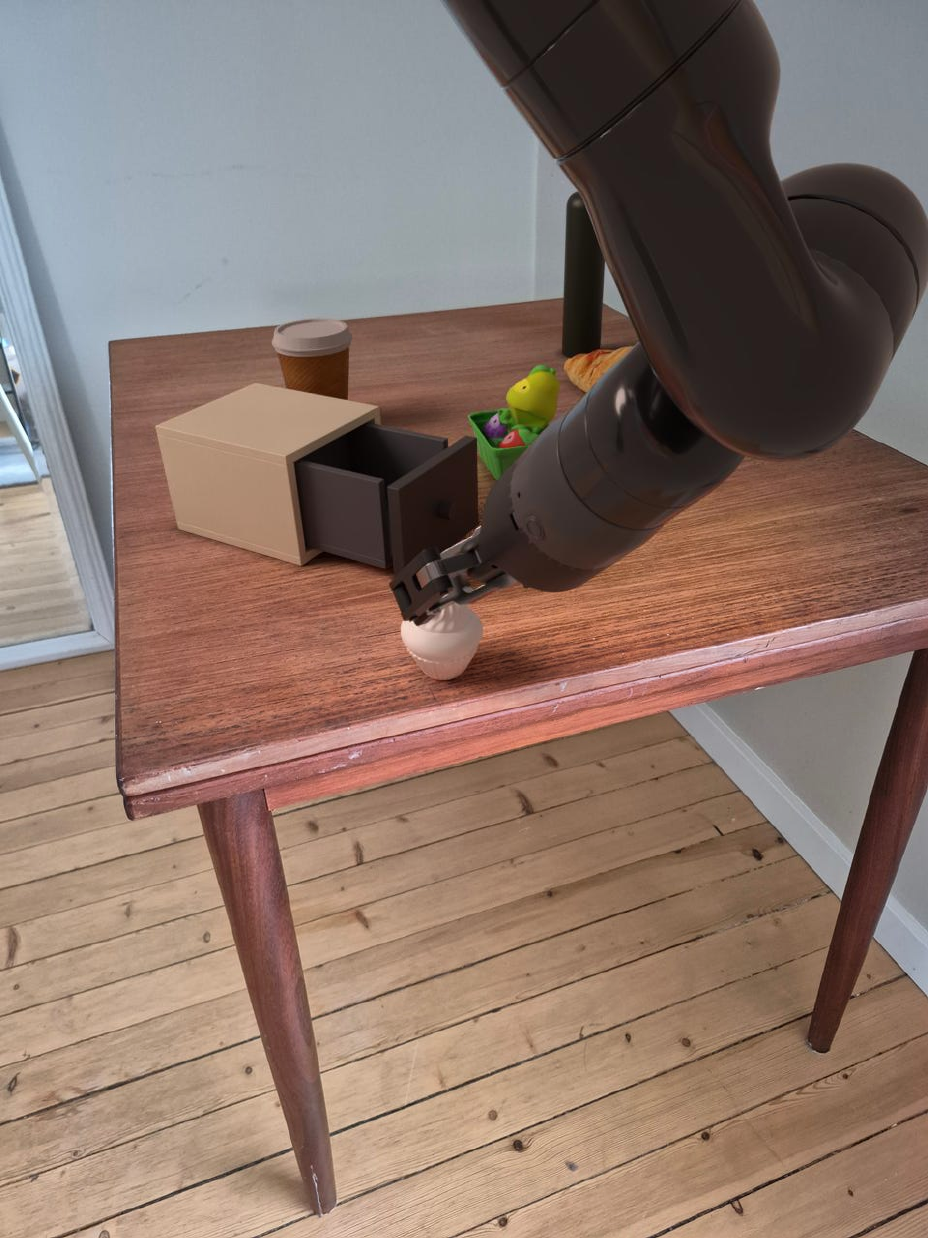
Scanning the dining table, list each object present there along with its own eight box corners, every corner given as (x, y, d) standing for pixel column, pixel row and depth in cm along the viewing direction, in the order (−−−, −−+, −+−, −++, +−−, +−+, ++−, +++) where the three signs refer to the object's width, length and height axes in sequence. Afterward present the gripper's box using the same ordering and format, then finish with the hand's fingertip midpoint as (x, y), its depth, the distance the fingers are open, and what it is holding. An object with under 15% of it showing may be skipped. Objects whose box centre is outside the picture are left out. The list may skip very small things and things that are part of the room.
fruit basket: (466, 455, 103) (464, 357, 97) (539, 446, 105) (542, 349, 99) (493, 496, 94) (492, 390, 88) (573, 485, 95) (578, 381, 89)
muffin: (495, 654, 70) (495, 576, 66) (465, 700, 65) (463, 619, 61) (423, 638, 72) (418, 562, 68) (389, 682, 67) (382, 602, 63)
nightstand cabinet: (387, 507, 92) (379, 406, 86) (301, 566, 82) (285, 456, 76) (270, 478, 99) (255, 382, 93) (177, 529, 89) (154, 425, 83)
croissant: (550, 406, 126) (532, 361, 120) (593, 358, 128) (577, 312, 122) (676, 442, 112) (662, 394, 106) (720, 388, 115) (709, 338, 109)
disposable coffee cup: (270, 424, 113) (255, 327, 107) (334, 406, 118) (324, 312, 112) (308, 445, 107) (295, 344, 100) (375, 425, 112) (366, 328, 105)
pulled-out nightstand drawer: (489, 527, 86) (488, 439, 81) (417, 587, 77) (411, 492, 72) (356, 494, 93) (348, 411, 88) (275, 546, 84) (261, 456, 79)
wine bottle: (559, 348, 137) (565, 125, 121) (596, 346, 138) (608, 123, 121) (564, 359, 132) (572, 128, 116) (603, 357, 133) (616, 127, 116)
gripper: (656, 405, 49) (534, 515, 64) (431, 464, 43) (353, 571, 58) (713, 528, 48) (576, 611, 63) (491, 605, 43) (396, 678, 57)
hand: (469, 592), depth 61 cm, fingers open, 8 cm apart
